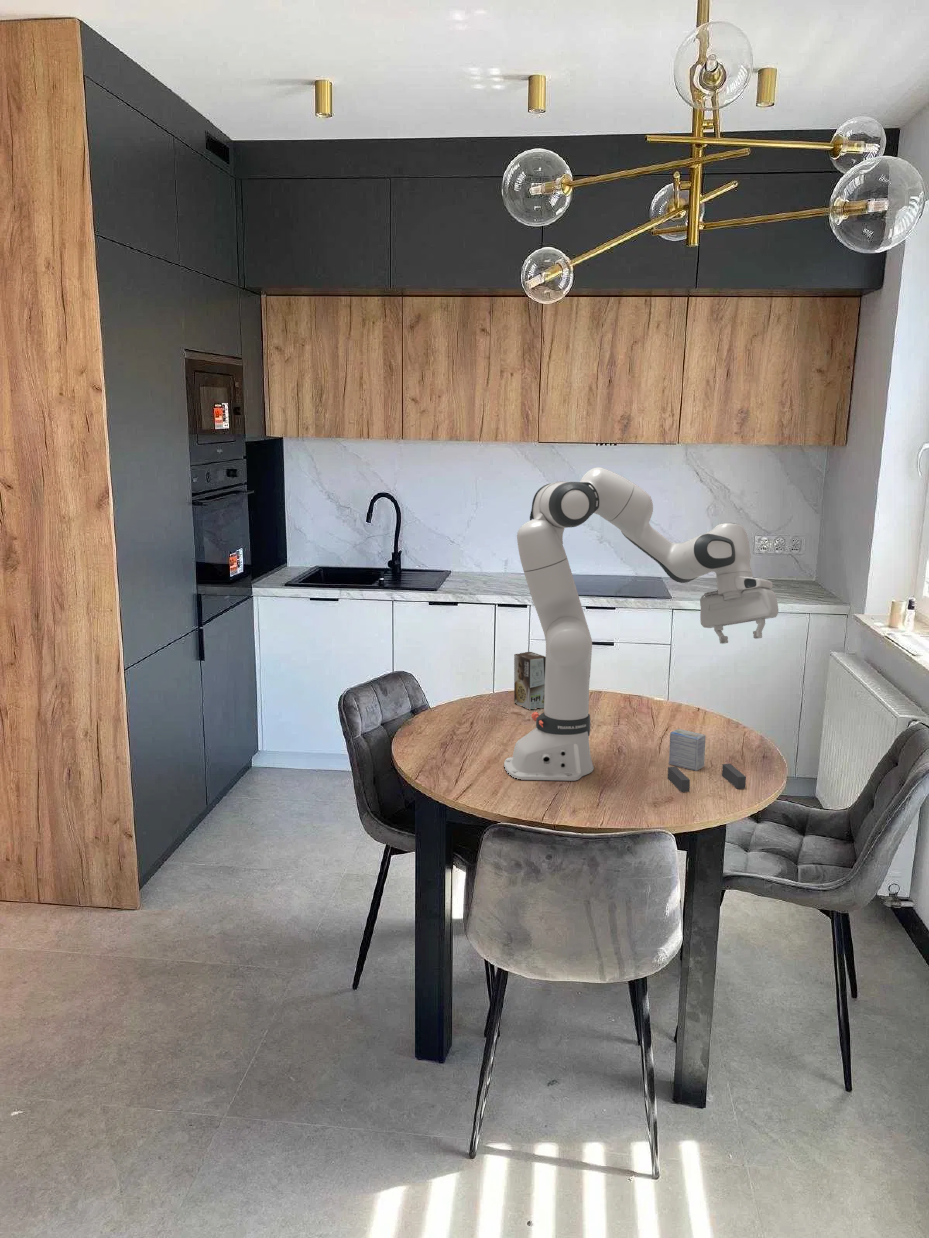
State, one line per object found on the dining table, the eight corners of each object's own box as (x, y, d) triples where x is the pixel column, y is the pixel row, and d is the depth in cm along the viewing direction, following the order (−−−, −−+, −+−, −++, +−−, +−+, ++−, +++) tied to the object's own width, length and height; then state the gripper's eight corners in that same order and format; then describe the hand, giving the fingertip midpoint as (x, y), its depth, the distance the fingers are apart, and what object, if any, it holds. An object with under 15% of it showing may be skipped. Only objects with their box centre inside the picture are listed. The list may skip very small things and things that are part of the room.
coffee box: (546, 707, 289) (547, 656, 286) (529, 710, 286) (530, 659, 283) (530, 700, 297) (530, 650, 293) (513, 703, 293) (513, 653, 290)
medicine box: (704, 767, 238) (706, 734, 236) (696, 771, 235) (698, 738, 233) (676, 760, 243) (678, 728, 242) (668, 764, 240) (669, 732, 238)
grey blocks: (681, 792, 221) (681, 780, 221) (667, 778, 230) (668, 766, 230) (745, 788, 224) (746, 776, 223) (729, 775, 232) (730, 763, 232)
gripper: (693, 592, 243) (697, 645, 241) (765, 578, 228) (771, 634, 226) (706, 595, 247) (711, 646, 245) (778, 581, 233) (784, 636, 231)
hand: (740, 640), depth 235 cm, fingers open, 8 cm apart
